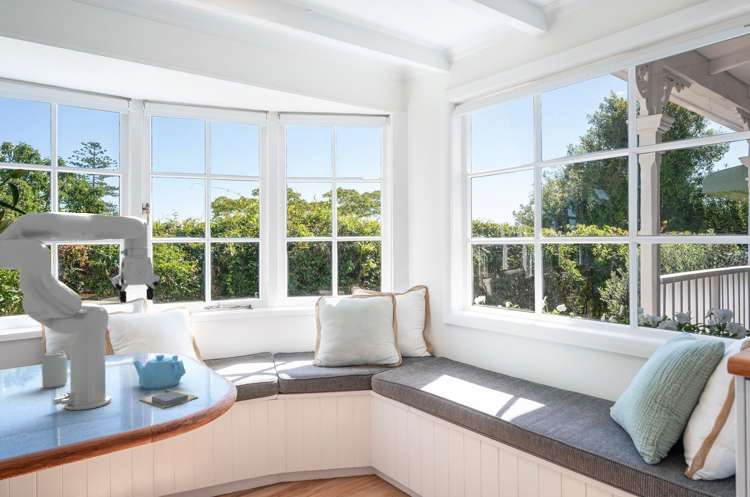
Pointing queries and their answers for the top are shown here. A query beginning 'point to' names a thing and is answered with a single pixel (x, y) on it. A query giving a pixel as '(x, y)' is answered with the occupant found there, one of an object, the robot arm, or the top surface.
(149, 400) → the wooden ridged plate
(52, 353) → the can
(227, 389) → the top surface
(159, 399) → the tile
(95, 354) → the robot arm
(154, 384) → the teapot
